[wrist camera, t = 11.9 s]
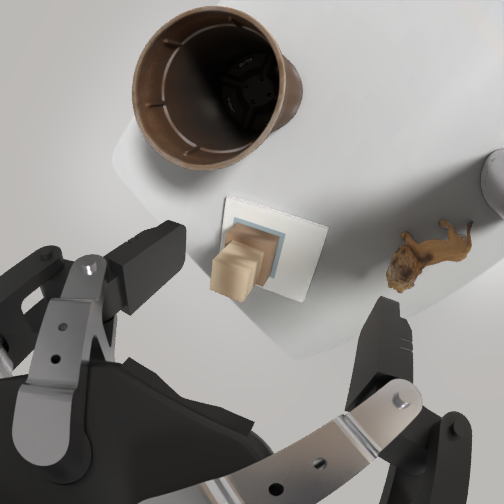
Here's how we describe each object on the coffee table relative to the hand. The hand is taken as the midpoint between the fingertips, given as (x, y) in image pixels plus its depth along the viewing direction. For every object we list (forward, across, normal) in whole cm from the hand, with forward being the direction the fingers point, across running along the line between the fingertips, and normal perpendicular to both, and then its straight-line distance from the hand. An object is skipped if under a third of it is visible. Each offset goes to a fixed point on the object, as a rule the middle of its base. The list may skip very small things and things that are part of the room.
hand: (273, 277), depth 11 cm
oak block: (+25, +9, +17) cm, 32 cm away
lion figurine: (+30, -15, +7) cm, 35 cm away
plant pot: (+30, +13, -6) cm, 33 cm away
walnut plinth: (+29, +9, +17) cm, 35 cm away
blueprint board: (+30, +7, +17) cm, 35 cm away
